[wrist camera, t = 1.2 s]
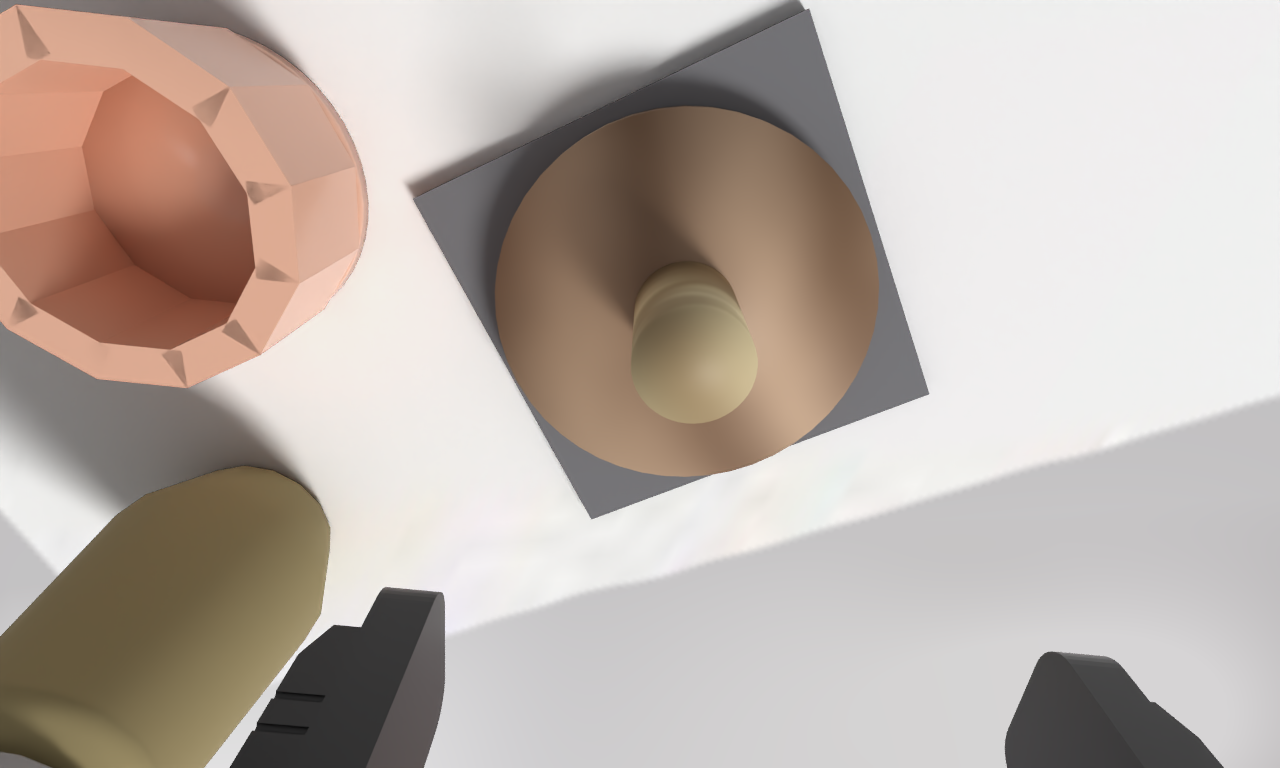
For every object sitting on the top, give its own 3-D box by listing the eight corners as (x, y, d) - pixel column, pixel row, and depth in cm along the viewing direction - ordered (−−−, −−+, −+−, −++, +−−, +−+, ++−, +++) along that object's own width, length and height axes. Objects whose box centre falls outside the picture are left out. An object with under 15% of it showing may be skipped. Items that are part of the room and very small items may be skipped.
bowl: (254, -35, 22) (133, -68, 17) (422, 260, 25) (365, 306, 20) (5, 107, 24) (-171, 116, 18) (196, 365, 27) (92, 431, 22)
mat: (805, 10, 22) (809, 8, 22) (924, 388, 27) (929, 394, 27) (417, 196, 24) (412, 198, 24) (592, 512, 30) (591, 519, 29)
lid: (798, 32, 22) (850, 18, 16) (912, 387, 27) (983, 472, 21) (433, 206, 24) (366, 247, 18) (597, 505, 29) (584, 610, 23)
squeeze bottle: (380, 480, 29) (24, 1013, 13) (335, 622, 32) (0, 1204, 16) (179, 410, 28) (-504, 895, 11) (152, 565, 31) (-418, 1125, 14)
